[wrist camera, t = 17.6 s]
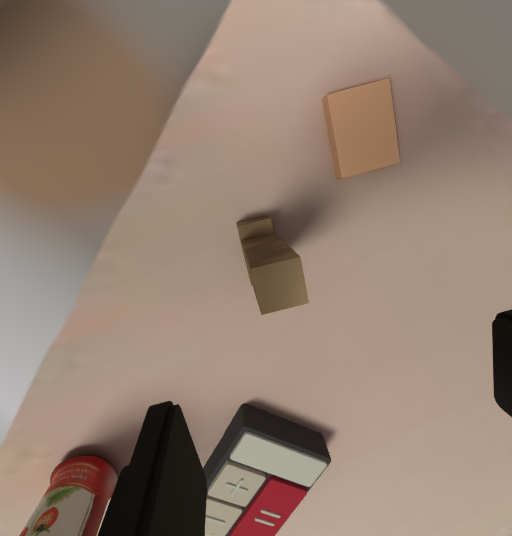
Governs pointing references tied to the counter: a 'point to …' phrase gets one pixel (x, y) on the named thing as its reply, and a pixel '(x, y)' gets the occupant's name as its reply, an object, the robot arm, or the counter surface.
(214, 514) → the calculator
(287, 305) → the tan stepped block
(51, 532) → the liquor
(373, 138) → the tile
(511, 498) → the counter surface
